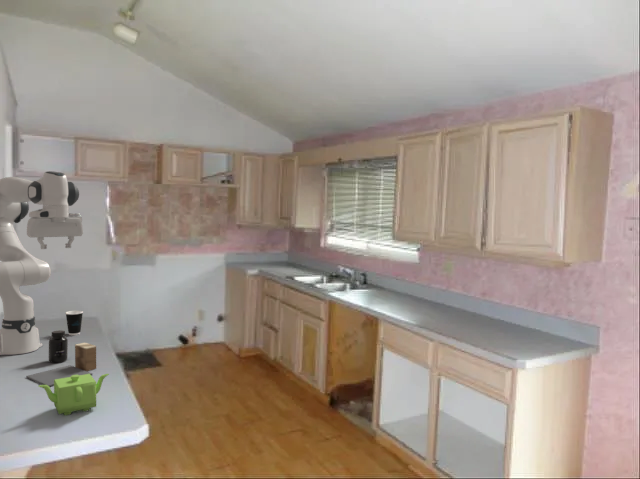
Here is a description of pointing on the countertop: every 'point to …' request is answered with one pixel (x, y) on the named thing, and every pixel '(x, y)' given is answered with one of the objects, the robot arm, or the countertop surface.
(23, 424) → the countertop surface
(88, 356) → the slab
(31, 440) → the countertop surface
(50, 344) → the supplement bottle
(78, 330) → the dixie cup
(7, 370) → the countertop surface
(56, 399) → the teapot
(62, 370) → the mat
